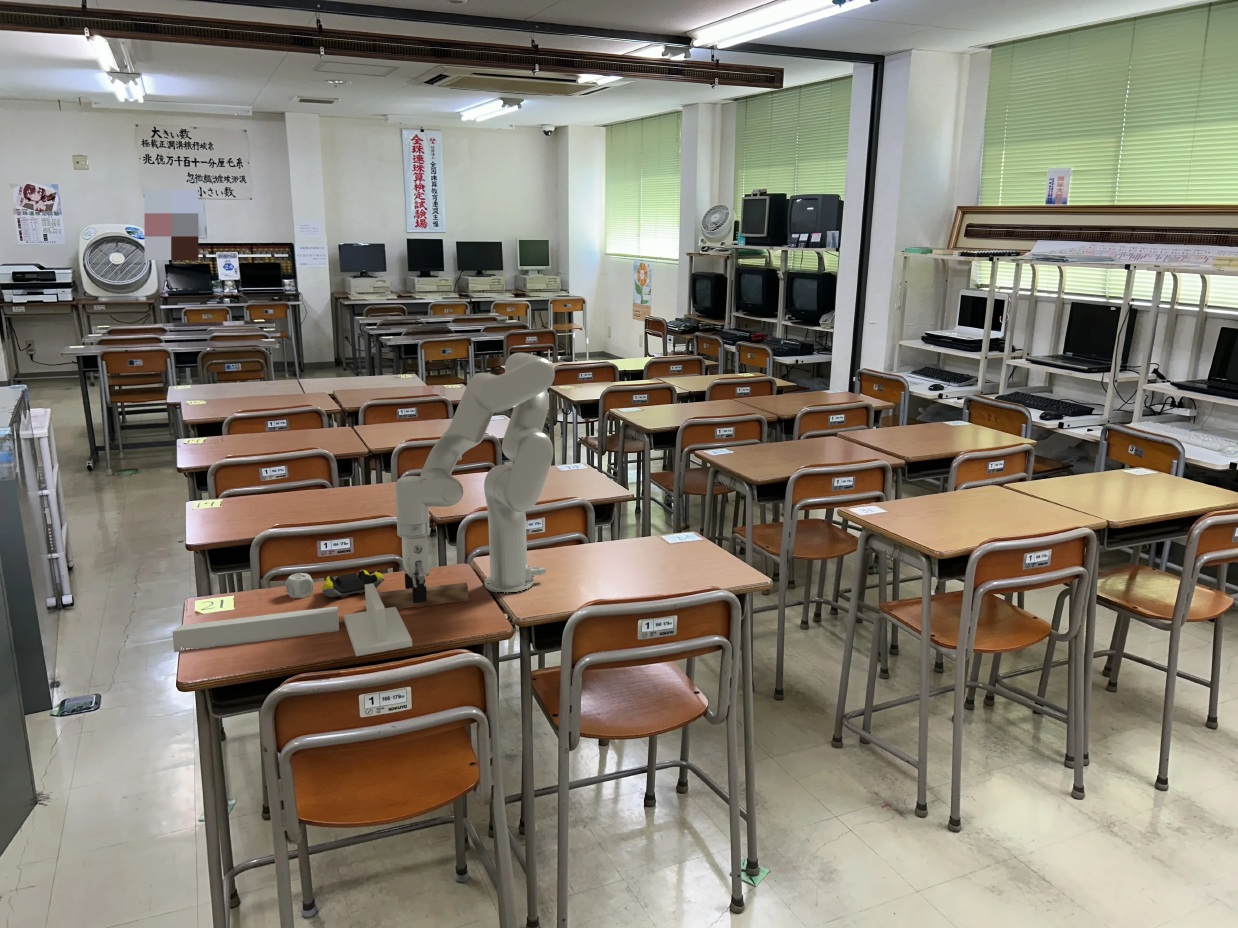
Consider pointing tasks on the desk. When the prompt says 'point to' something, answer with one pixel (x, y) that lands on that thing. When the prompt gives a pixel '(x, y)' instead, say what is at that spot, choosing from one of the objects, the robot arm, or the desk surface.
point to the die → (299, 585)
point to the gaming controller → (350, 583)
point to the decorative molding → (256, 628)
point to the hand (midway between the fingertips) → (415, 594)
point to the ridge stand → (376, 627)
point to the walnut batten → (433, 596)
